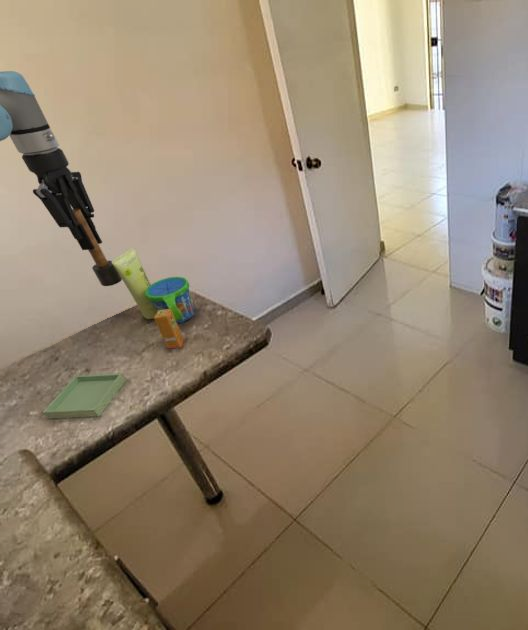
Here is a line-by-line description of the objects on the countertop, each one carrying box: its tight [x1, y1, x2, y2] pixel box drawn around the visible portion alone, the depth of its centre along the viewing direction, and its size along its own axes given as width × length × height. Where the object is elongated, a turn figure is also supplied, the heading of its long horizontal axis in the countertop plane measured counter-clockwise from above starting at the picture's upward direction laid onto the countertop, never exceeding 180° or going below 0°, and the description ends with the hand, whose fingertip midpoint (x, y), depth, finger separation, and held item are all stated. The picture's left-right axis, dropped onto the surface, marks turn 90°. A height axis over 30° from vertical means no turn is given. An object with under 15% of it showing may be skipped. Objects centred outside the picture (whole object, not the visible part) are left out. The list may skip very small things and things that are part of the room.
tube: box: [110, 247, 158, 320], centre depth 117 cm, size 6×5×20 cm
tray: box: [42, 372, 127, 420], centre depth 97 cm, size 11×11×2 cm
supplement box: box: [153, 309, 185, 350], centre depth 109 cm, size 3×4×10 cm
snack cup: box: [145, 276, 195, 324], centre depth 119 cm, size 16×10×10 cm
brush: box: [72, 208, 123, 287], centre depth 111 cm, size 5×5×20 cm
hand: (92, 246), depth 110 cm, fingers closed on brush, 3 cm apart
